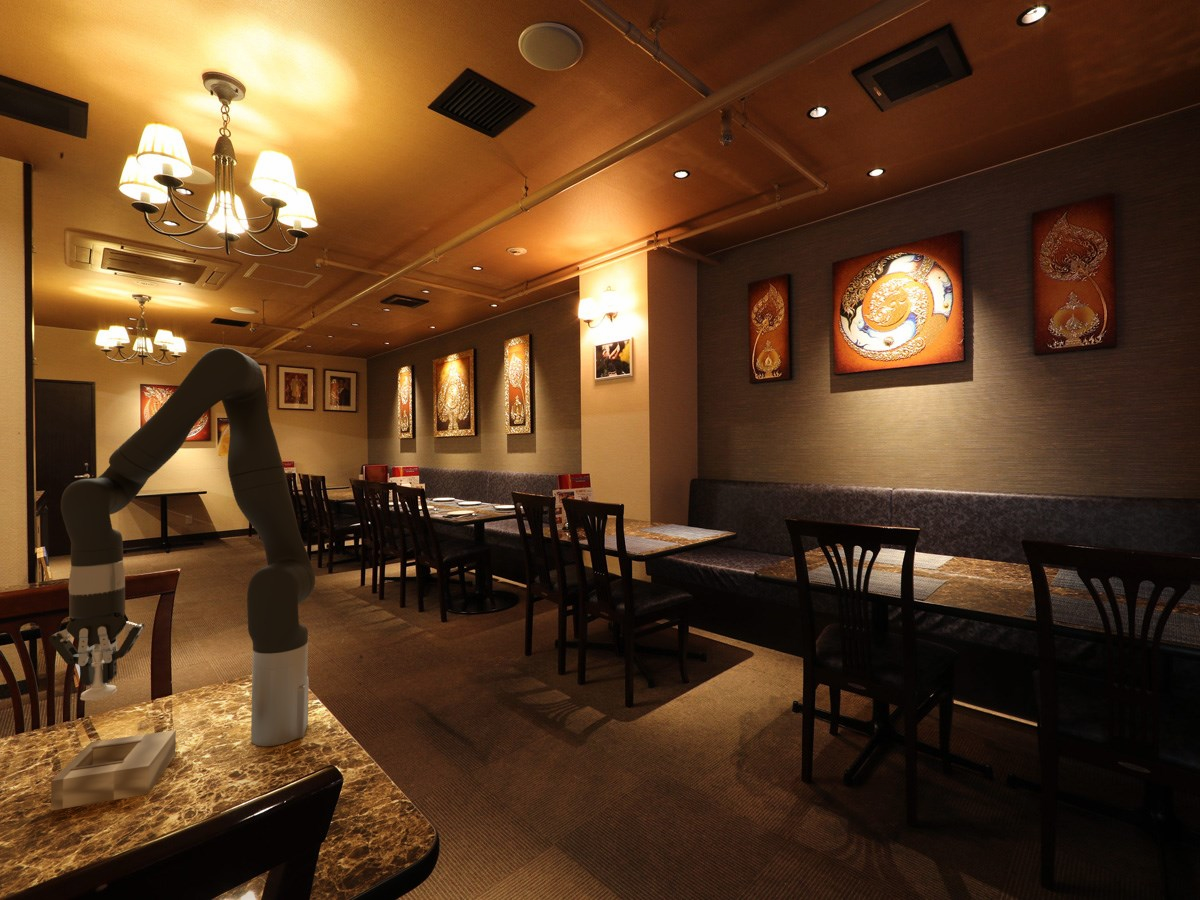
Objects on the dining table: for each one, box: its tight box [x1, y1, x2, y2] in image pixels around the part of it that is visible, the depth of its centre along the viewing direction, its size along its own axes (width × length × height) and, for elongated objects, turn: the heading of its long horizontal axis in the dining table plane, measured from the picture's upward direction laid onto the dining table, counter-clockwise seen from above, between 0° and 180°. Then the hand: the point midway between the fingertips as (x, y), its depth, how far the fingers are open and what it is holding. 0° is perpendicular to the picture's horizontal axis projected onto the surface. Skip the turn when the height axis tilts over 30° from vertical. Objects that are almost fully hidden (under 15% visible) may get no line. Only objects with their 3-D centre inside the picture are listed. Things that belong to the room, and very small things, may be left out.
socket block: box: [50, 729, 177, 811], centre depth 91 cm, size 12×12×5 cm
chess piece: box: [79, 644, 118, 701], centre depth 100 cm, size 5×5×10 cm
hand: (98, 682), depth 100 cm, fingers closed on chess piece
